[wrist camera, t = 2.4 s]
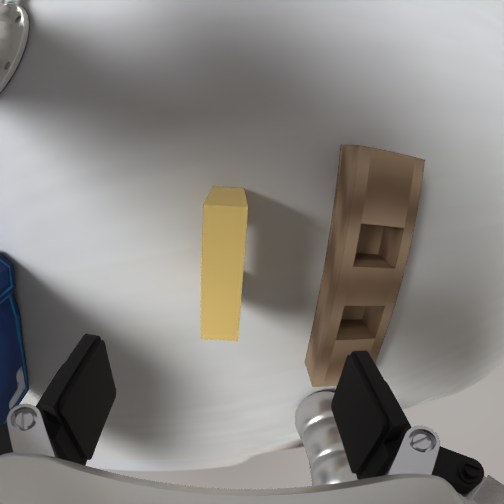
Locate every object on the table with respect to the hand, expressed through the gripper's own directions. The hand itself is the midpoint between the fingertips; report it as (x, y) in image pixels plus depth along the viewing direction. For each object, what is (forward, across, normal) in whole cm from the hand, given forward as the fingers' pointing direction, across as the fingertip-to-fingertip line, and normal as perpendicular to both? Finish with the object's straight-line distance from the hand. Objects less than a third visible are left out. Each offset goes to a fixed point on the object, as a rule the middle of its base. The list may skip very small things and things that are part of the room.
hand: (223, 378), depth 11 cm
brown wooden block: (+16, -11, +2) cm, 20 cm away
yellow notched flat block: (+16, +1, 0) cm, 16 cm away
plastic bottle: (+17, -11, +20) cm, 28 cm away
